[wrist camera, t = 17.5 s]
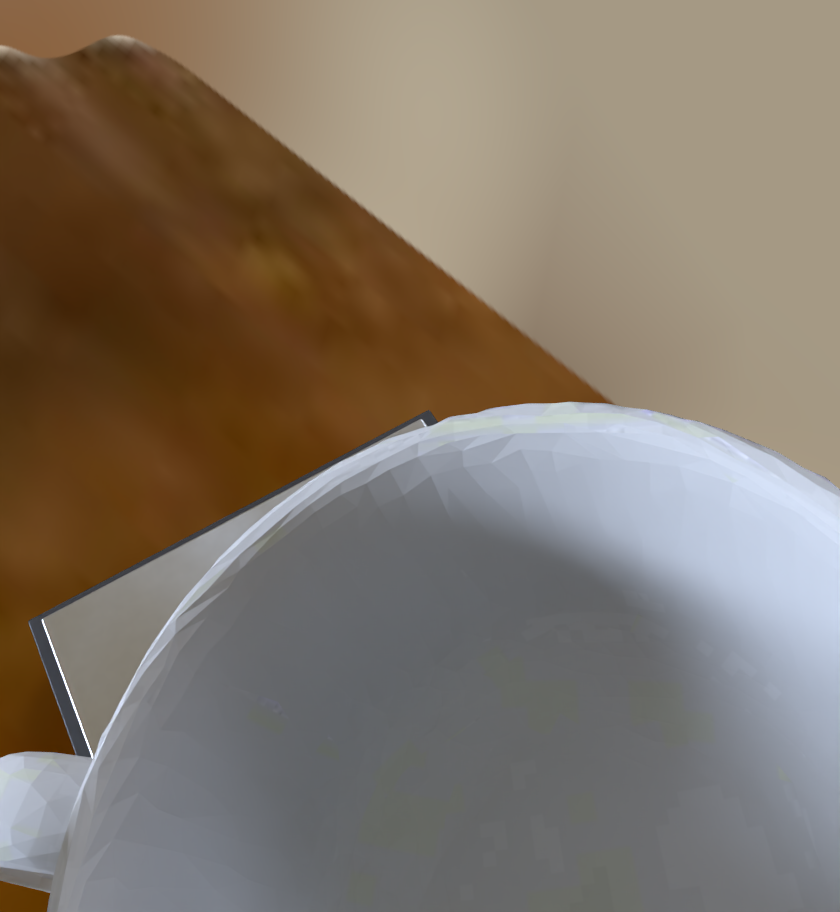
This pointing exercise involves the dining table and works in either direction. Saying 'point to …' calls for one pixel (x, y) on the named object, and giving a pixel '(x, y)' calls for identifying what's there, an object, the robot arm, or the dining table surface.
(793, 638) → the teacup
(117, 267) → the dining table surface
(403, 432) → the scale
